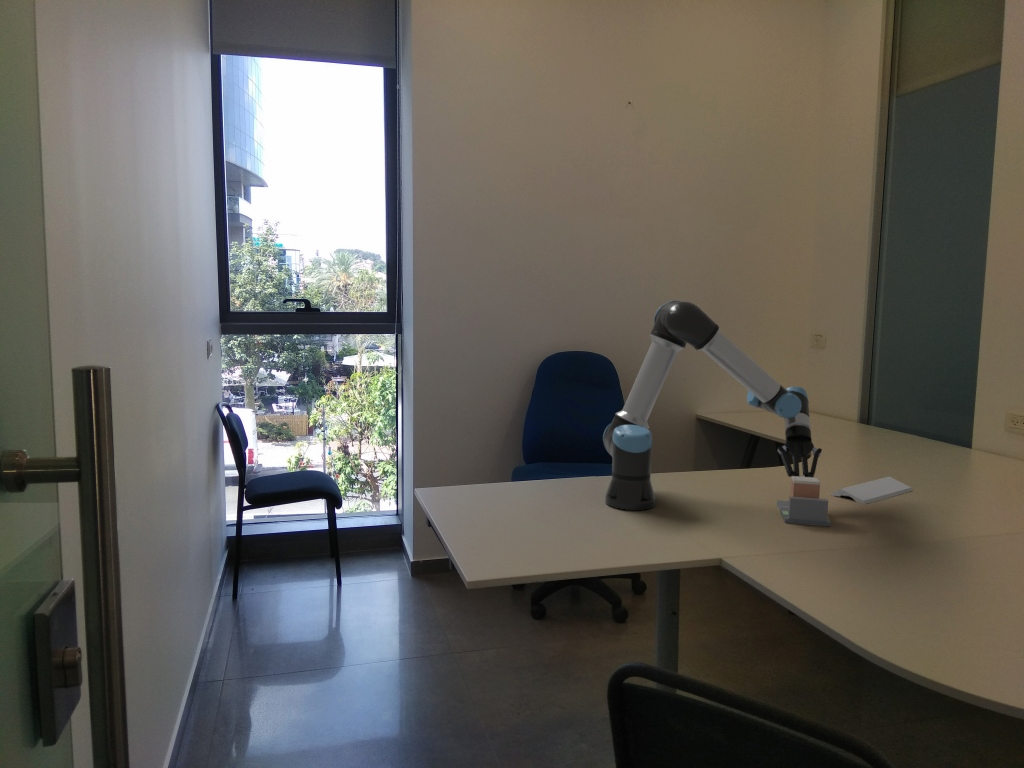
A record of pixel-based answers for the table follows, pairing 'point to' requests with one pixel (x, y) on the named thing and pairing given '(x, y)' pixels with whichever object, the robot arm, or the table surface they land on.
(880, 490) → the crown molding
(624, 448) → the robot arm
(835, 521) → the table surface
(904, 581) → the table surface
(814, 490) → the orange box with lid
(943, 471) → the table surface
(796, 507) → the base
